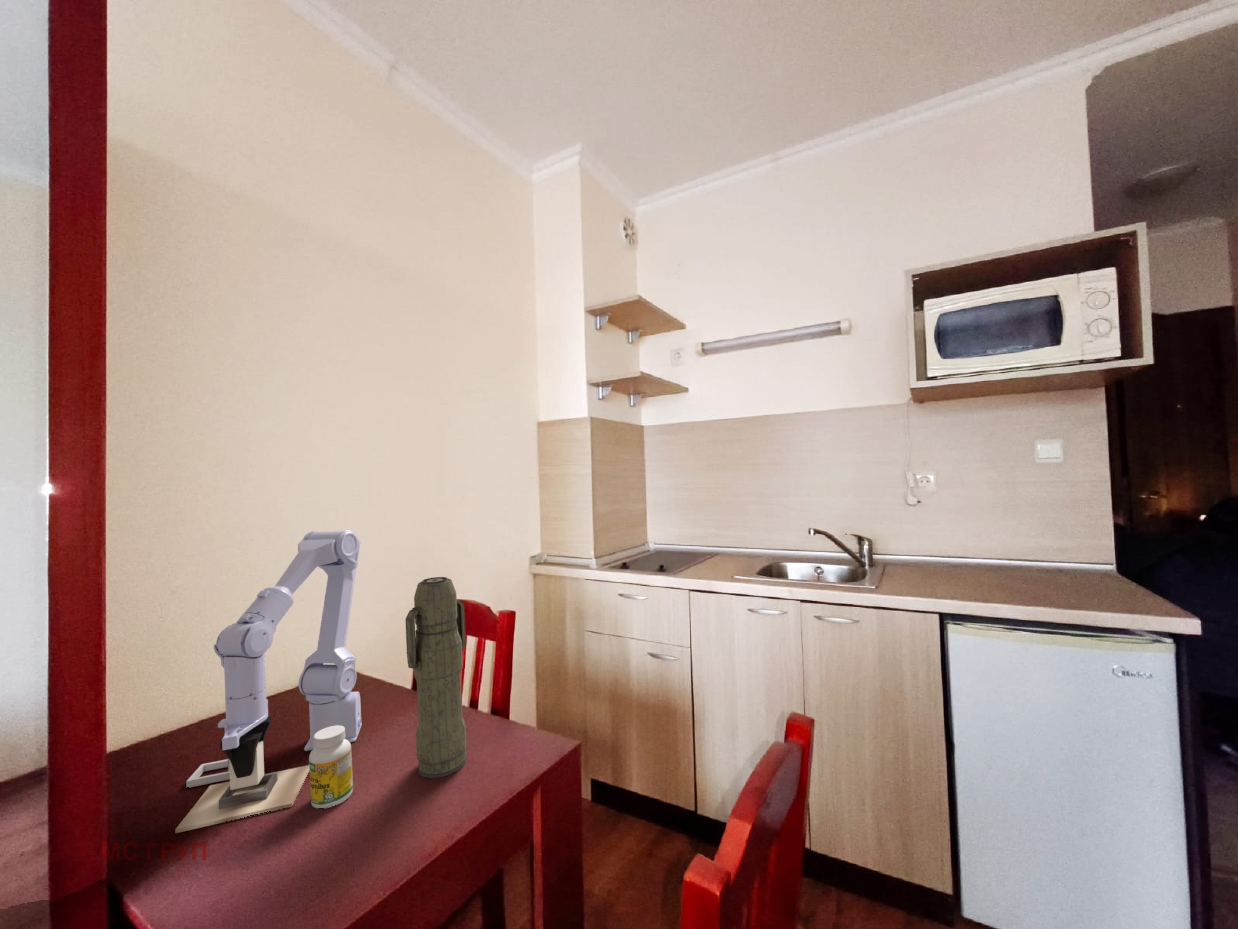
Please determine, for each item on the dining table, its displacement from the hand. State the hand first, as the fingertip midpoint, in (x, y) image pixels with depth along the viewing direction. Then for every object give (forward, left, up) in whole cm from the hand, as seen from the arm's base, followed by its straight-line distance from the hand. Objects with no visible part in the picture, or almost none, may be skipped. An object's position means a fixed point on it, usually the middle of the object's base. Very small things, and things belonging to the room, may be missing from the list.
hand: (248, 770), depth 87 cm
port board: (0, 0, -5) cm, 5 cm away
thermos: (-32, +3, -5) cm, 33 cm away
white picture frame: (+9, -11, -5) cm, 15 cm away
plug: (0, 0, -2) cm, 2 cm away
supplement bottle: (-14, +6, -5) cm, 16 cm away
